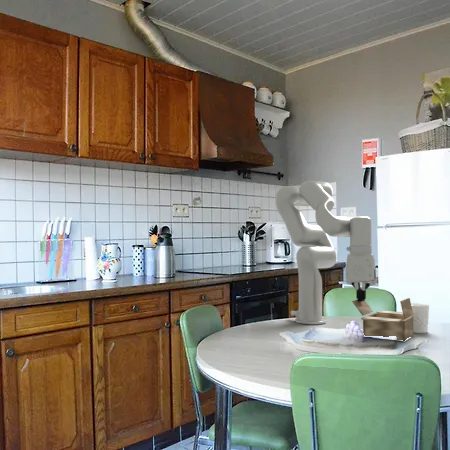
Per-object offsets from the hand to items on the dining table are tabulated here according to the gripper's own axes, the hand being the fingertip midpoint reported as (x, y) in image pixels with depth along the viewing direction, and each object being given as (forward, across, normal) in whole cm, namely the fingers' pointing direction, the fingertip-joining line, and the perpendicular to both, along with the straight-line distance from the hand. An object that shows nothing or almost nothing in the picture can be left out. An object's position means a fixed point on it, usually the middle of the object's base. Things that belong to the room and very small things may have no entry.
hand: (361, 300), depth 172 cm
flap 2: (+5, +17, 0) cm, 17 cm away
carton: (+12, +10, 0) cm, 15 cm away
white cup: (+12, +16, +17) cm, 26 cm away
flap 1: (+5, +3, 0) cm, 5 cm away
